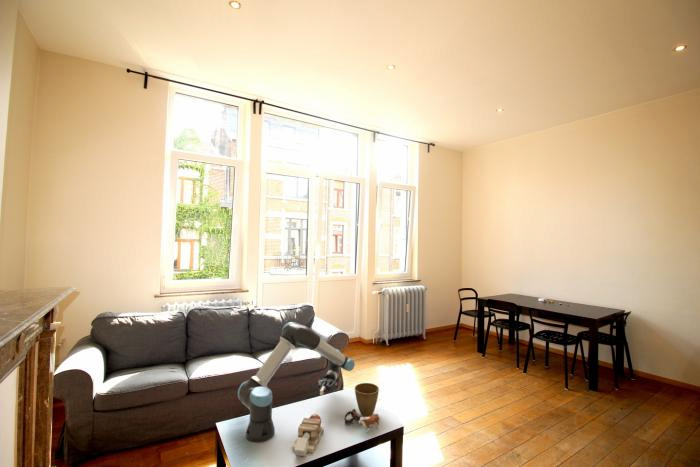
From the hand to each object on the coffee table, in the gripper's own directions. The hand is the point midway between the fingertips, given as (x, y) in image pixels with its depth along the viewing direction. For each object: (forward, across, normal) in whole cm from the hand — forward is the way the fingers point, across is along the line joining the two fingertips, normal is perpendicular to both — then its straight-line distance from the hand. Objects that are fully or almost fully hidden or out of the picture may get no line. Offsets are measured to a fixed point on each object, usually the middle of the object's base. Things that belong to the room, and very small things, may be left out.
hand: (321, 393), depth 199 cm
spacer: (+32, 0, -14) cm, 35 cm away
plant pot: (-11, -26, -15) cm, 32 cm away
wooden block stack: (+20, 0, -15) cm, 25 cm away
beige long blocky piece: (+22, 0, -16) cm, 27 cm away
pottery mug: (0, -20, -15) cm, 25 cm away
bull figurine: (+5, -30, -15) cm, 34 cm away
